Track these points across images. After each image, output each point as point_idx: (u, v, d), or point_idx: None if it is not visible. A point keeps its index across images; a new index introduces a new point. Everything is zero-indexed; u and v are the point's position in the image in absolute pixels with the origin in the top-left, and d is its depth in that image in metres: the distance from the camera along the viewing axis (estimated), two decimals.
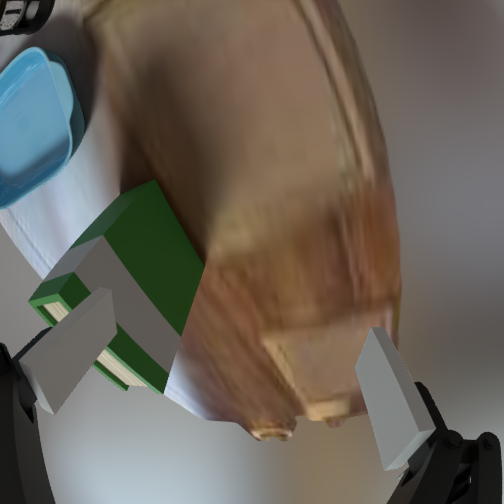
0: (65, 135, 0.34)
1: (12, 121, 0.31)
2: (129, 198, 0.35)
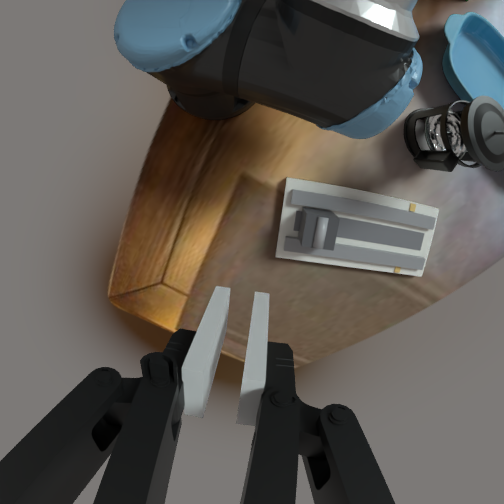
0: (475, 47, 0.27)
1: None
2: None
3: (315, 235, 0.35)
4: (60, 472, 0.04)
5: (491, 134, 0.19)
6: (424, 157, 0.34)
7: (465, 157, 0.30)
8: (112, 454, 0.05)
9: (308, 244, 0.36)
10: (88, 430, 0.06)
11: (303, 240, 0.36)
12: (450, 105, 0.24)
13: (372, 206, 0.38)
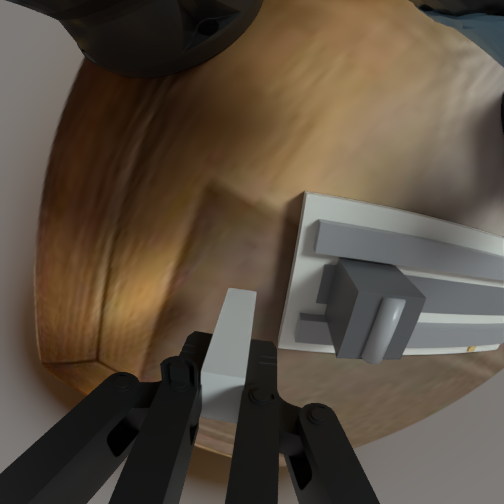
0: None
1: None
2: None
3: (371, 338, 0.14)
4: (72, 478, 0.04)
5: None
6: None
7: None
8: (128, 458, 0.05)
9: (352, 354, 0.15)
10: (104, 436, 0.06)
11: (343, 347, 0.14)
12: None
13: (464, 254, 0.16)
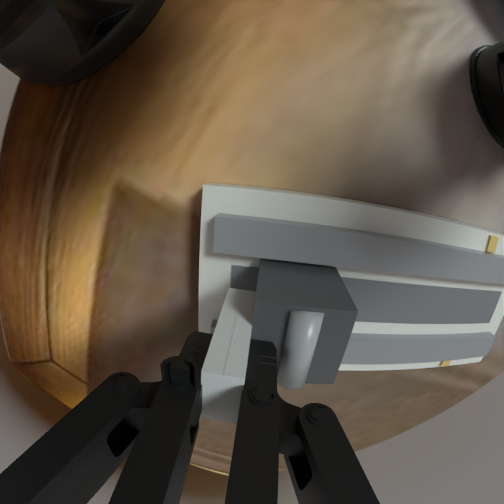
0: None
1: None
2: None
3: (282, 358, 0.12)
4: (72, 478, 0.04)
5: None
6: None
7: None
8: (128, 458, 0.05)
9: None
10: (104, 436, 0.06)
11: None
12: None
13: (421, 250, 0.14)
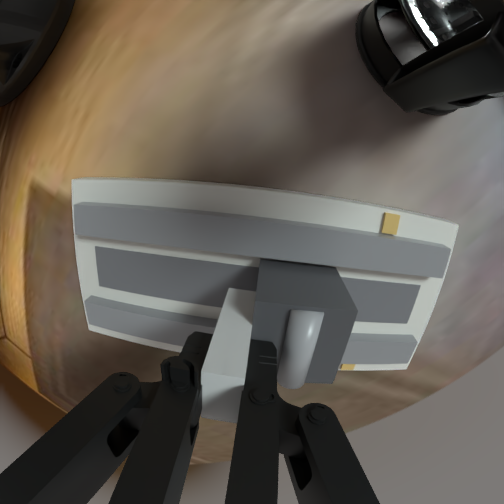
0: None
1: None
2: None
3: (282, 358, 0.12)
4: (72, 478, 0.04)
5: None
6: None
7: None
8: (128, 458, 0.05)
9: None
10: (104, 436, 0.06)
11: None
12: None
13: (262, 228, 0.15)
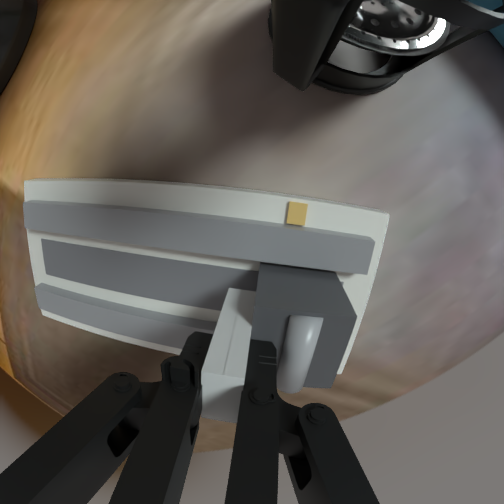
0: None
1: None
2: None
3: (281, 362, 0.12)
4: (72, 478, 0.04)
5: None
6: None
7: (450, 41, 0.07)
8: (128, 458, 0.05)
9: None
10: (104, 436, 0.06)
11: None
12: None
13: (159, 220, 0.15)
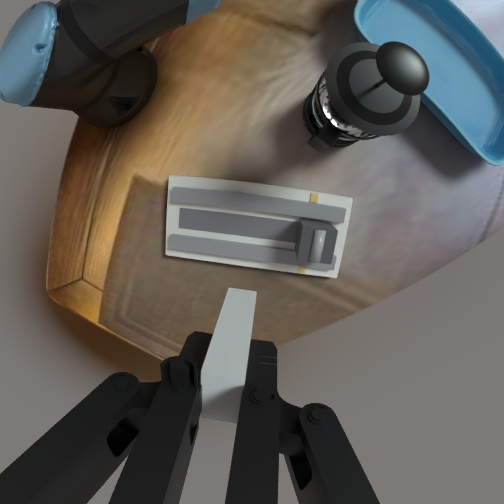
0: (413, 12, 0.26)
1: (448, 93, 0.30)
2: None
3: (312, 248, 0.34)
4: (72, 478, 0.04)
5: (370, 87, 0.18)
6: None
7: None
8: (128, 458, 0.05)
9: (304, 258, 0.34)
10: (104, 436, 0.06)
11: (299, 254, 0.34)
12: None
13: (258, 198, 0.37)
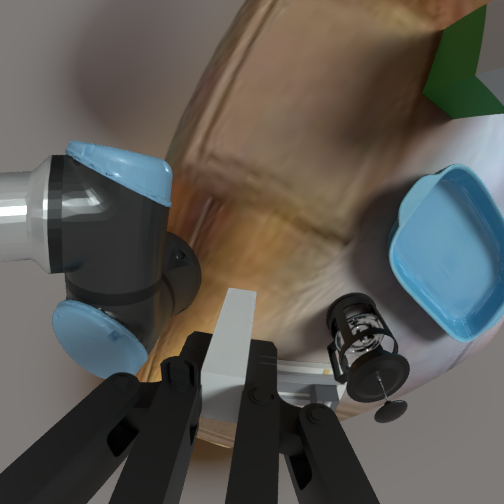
0: (447, 197, 0.38)
1: (450, 279, 0.42)
2: (446, 95, 0.28)
3: None
4: (72, 478, 0.04)
5: (374, 384, 0.30)
6: None
7: None
8: (128, 458, 0.05)
9: None
10: (104, 436, 0.06)
11: None
12: (353, 341, 0.35)
13: (288, 376, 0.49)
